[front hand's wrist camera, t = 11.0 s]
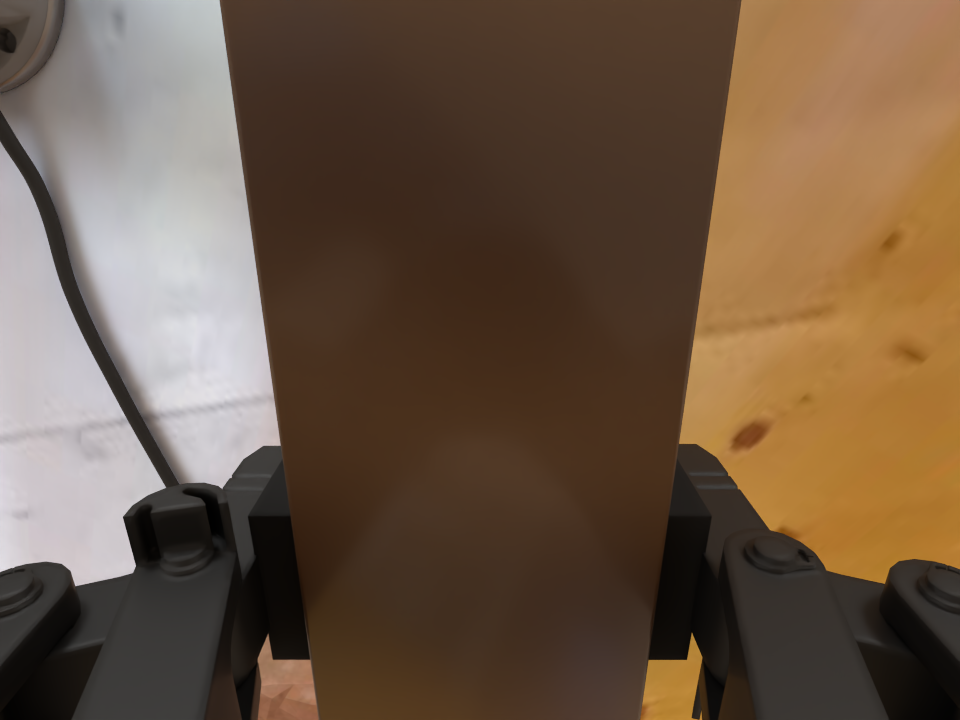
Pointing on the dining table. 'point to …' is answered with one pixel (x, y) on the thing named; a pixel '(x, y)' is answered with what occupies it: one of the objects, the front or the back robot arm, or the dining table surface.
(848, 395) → the dining table surface
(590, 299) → the beam
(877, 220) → the dining table surface
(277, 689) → the stone
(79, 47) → the dining table surface
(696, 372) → the dining table surface
